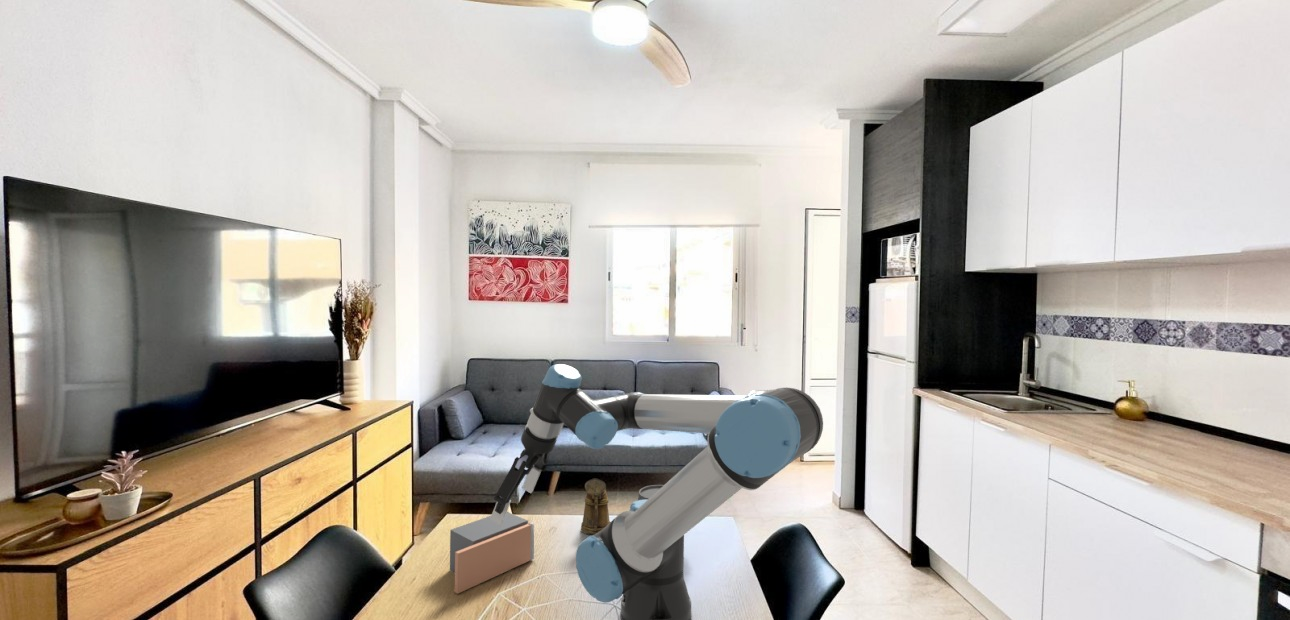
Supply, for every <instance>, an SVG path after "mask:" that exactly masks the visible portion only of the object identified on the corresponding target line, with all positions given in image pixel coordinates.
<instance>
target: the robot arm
mask: <svg viewBox="0 0 1290 620" xmlns="http://www.w3.org/2000/svg"><path fill="white" fill-rule="evenodd" d="M582 380H583V378H582V375H581V373H580V372H579V370H578V369H576V368H574V367H573V366H570V365H567V364H563V363H558V364H553V365H551V366H550V367H549V368H548V370H547V372H546V374H545V376H544V378H543V379H542V382H541V386H540V388H539V391H538V393H537V396H536V400H535V402H534V404H533V407H532V408H530V409H529V412H530V415H529V417H528V420H527V423H526V425H525V427H524V429H523V431H522V435H521V438H520V441H521V444H522V446H523V450H522V451H521V453H520V454H519V455H520V456H519V457H518V456H516V457H515V458H514V460H513V463H512V464H511V467H510V469H509V470H508V473H507V474H506V476H505V477H504V480H503V481H502V483H501V485H500V486H499V488H498V490H497V492H495V494H494V497H493V500H494V501H495V502H496V503H495V506H494V507H493V510H492V513H491V515H490V516H491V518H490V519H491V520H492V521H494V522H495V523H497V524H499V525H501V524H502V522H503V520H504V517H505V515H506V512H508V510H509V507H510V504H511V502H512V500H511V499H512V497H513V496H514V494H515V492H516V490H517V489H518V487H519V486H520V484H521V483H522V481H523V479H524V481H523V484H522V486H521V488H522V489H523V490H525V491H526V492H528V493H530V494H533V492H534V489H535V487H536V485H537V482H538V480H539V477H540V475H541V472H542V471H543V472H545V471H546V469H547V464H548V463H549V459H550V453H551V452H552V451H553V449H554V448H555V446H556V443H557V441H558V438H559V436H560V433H561V432H562V429H563V427H564V425H565V427H567V428H568V429H569V430H570V431H571V432H572V433H573V434H574V435H575V436H576V437H577V439H578V440H579V441H581V442H583V443H584V444H585V445H587V446H588V447H589V448H590V449H593V450H600V449H603V448H604V447H605V446H606V445H609V444H610V443H611V442H612V440H613V439H614V437H615V436H616V434H617V432H618V431H623V430H627V429H633V430H634V429H635V430H651V431H652V430H654V431H655V430H656V431H667V432H669V431H670V432H681V433H682V432H683V433H695V434H696V433H699V434H708V435H707V446H706V447H704V448H703V450H702V451H700V452H699V453H698V454H697V455H696V456H695V457H694V458H692V459H691V461H689V462H688V463H687V464H686V465H684V467H683V468H681V469H680V470H679V471H678V472H677V473H676V474H674V475H673V476H672V477H671V478H670V479H669V480H668V481H667V482H666V483H665V484H663V485H664V486H663V487H662V488H660V489H659V490H658V491H657V492H656V493H655V494H654V495H653V496H651V497H650V498H649V499H645V500H638V499H637V500H636V501H635V500H634V501H633V502H632V503H631V504H630V505H629V507H630V508H629V510H626V511H623V512H620V513H619V514H617V515H616V517H614V518H613V519H612V520H611V521H610V523H609V524H608V525H607V526H606V527H605V528H604V529H602V530H601V531H600V532H598V533H596V534H595V535H589V536H587V537H586V538H585V539H584V540H582V541H581V542H580V543H579V544H578V546H577V549H576V553H575V563H576V566H575V567H576V571H577V575H578V578H579V580H580V582H581V584H582V587H584V589H585V591H586V592H587V594H589V595H590V596H591V597H592V598H593V599H595V600H596V601H598V602H600V603H603V604H604V603H605V604H606V603H610V602H613V601H615V600H619V599H620V598H621V601H620V615H621V617H623V618H622V619H623V620H691V617H692V600H691V597H690V595H689V592H688V591H689V590H688V587H687V585H686V581H685V577H684V576H685V575H684V567H685V566H684V565H685V564H684V559H685V557H684V555H685V554H684V551H685V535H686V534H687V533H688V532H689V531H690V530H692V529H693V528H694V527H696V526H697V525H698V524H699V523H700V522H702V521H703V520H704V519H705V518H707V517H708V516H710V514H712V513H713V512H714V511H715V510H716V509H718V508H719V507H721V505H723V504H724V503H725V502H726V501H728V500H729V499H730V498H732V497H733V496H734V495H735V494H737V493H738V492H739V491H740V490H742V489H744V490H748V491H755V490H757V489H759V488H760V487H762V486H763V485H764V484H765V483H767V482H768V481H769V480H770V479H772V478H773V477H774V476H775V475H777V474H778V473H779V472H780V471H782V470H784V469H785V468H786V467H787V466H788V465H790V464H791V463H793V461H796V460H797V459H799V458H801V457H802V456H803V455H805V454H807V453H809V452H810V451H811V450H812V449H814V448H815V446H816V445H817V444H818V443H819V441H820V439H821V437H822V433H823V430H824V418H823V414H822V410H821V409H820V406H819V405H818V403H816V401H815V400H814V399H813V398H812V397H811V396H810V395H809V394H808V393H805V392H804V391H802V390H800V389H797V388H794V387H793V388H792V387H779V388H775V389H767V390H766V389H763V390H762V389H758V390H757V389H753V390H751V391H750V393H748V395H734V394H733V395H732V394H731V395H730V394H729V395H728V394H727V395H726V394H725V395H724V394H723V395H722V394H714V395H713V394H654V393H653V394H650V393H649V394H647V393H643V392H639V391H637V392H636V391H635V392H634V391H633V392H632V391H631V392H626V393H624V394H619V395H615V396H613V395H612V396H608V397H602V398H597V399H593V398H591V396H589V395H588V394H587V393H585V392H584V391H583V390H582V388H580V387H581V385H582V384H581V382H582Z"/></svg>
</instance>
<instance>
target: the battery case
mask: <svg viewBox="0 0 1290 620" xmlns="http://www.w3.org/2000/svg"><path fill="white" fill-rule="evenodd" d="M490 518H491V515H488V516H486V517H483V518H481V519H478V520H474V521H471V522H468V523H466V524H462V525H460V526H458V527H457V526H456V527H455V528H451V529H450V531H449V532H450V533H449V534H450V536H449V537H450V539H449V542H450V543H449V571H450V572H452V573H454V574H455V552H457V551H459V550H462V549H464V548H467V547H469V546H472V545H475V544H477V543H480V542H482V541H485V540H487V539H490V538H493V537H495V536H498V535H500V534H503V533H506V532H508V531H511V530H513V529H516V528H518V527H521V526H524V525H526V524H528V523H529V520H528V519H525V518H522V517H521V516H518V515H515V514H514V513H511V512H508V511H507V512H506V515H505V517H504V520H503V522H502V524H501V525H499V524H497V523H495V522H494V521H492V520H491V519H490Z"/></svg>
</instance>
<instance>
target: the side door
mask: <svg viewBox="0 0 1290 620" xmlns="http://www.w3.org/2000/svg"><path fill="white" fill-rule="evenodd" d="M534 559H535V522H528V524H526V525H524V526H521V527H518V528H516V529H513V530H511V531H508V532H506V533H503V534H500V535H498V536H495V537H493V538H490V539H487V540H485V541H482V542H480V543H477V544H475V545H472V546H469V547H467V548H464V549H462V550H459V551H457V552H455V573H454V593H456V594H460V593H462V592H464V591H466V590H469V589H471V588H473V587H475V586H477V585H480V584H481V583H485V582H487V581H488V580H491V579H493V578H495V577H497V576H499V575H501V574H503V573H506V572H508V571H510V570H512V569H514V568H517V567H519V566H521V565H523V564H525V563H527V562H529V561H533V560H534Z"/></svg>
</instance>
